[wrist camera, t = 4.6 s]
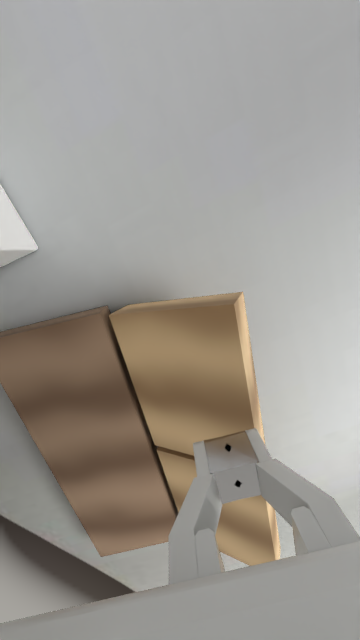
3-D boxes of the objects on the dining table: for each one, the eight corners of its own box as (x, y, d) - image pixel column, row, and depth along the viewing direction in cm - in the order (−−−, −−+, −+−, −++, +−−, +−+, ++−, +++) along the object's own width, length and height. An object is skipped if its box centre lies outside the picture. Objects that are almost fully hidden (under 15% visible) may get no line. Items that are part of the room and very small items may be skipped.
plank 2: (168, 429, 19) (156, 449, 18) (266, 452, 15) (262, 479, 14) (194, 512, 23) (186, 535, 21) (280, 547, 19) (278, 579, 17)
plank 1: (128, 304, 16) (108, 315, 14) (242, 291, 12) (233, 304, 10) (166, 425, 19) (154, 445, 17) (265, 446, 15) (261, 474, 14)
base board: (0, 331, 16) (-23, 343, 14) (107, 305, 16) (99, 313, 14) (106, 531, 23) (100, 557, 21) (180, 514, 23) (182, 538, 21)
